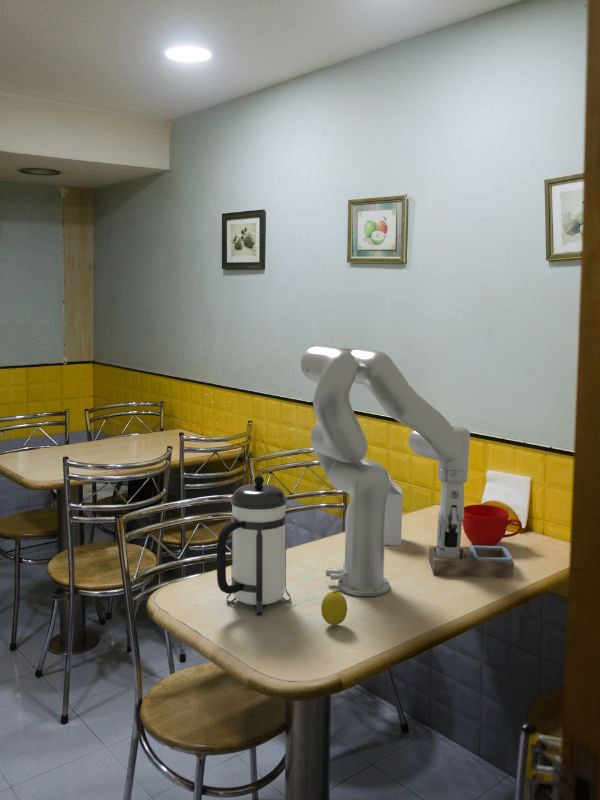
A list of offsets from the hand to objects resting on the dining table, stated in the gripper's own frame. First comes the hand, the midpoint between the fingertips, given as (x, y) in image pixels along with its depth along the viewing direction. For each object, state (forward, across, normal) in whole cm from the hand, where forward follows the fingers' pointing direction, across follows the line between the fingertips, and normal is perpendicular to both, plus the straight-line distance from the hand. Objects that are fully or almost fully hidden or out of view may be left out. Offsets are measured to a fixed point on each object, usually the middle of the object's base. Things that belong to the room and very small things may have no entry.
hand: (448, 541), depth 192 cm
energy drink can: (+6, 0, 0) cm, 6 cm away
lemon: (+8, -36, +29) cm, 47 cm away
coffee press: (+9, -26, +47) cm, 55 cm away
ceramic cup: (+7, +19, -15) cm, 25 cm away
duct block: (+7, 0, -6) cm, 9 cm away
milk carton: (+7, +20, +14) cm, 26 cm away
